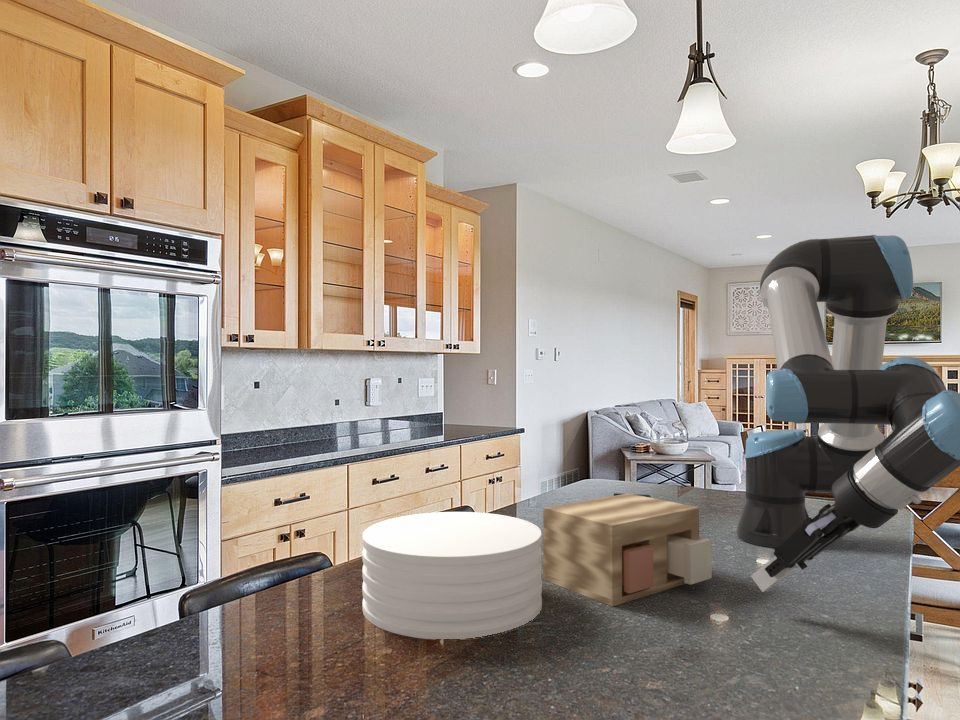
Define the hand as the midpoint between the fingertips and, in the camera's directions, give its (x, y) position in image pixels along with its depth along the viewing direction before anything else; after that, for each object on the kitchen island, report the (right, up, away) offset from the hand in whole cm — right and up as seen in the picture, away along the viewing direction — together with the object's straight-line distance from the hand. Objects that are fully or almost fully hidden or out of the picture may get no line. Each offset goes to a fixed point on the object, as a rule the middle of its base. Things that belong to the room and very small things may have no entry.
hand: (759, 582), depth 100 cm
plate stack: (-47, -5, +4) cm, 47 cm away
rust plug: (-22, -3, +11) cm, 25 cm away
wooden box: (-18, -4, +15) cm, 24 cm away
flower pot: (-9, -5, +42) cm, 44 cm away
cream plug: (-11, -3, +16) cm, 19 cm away
